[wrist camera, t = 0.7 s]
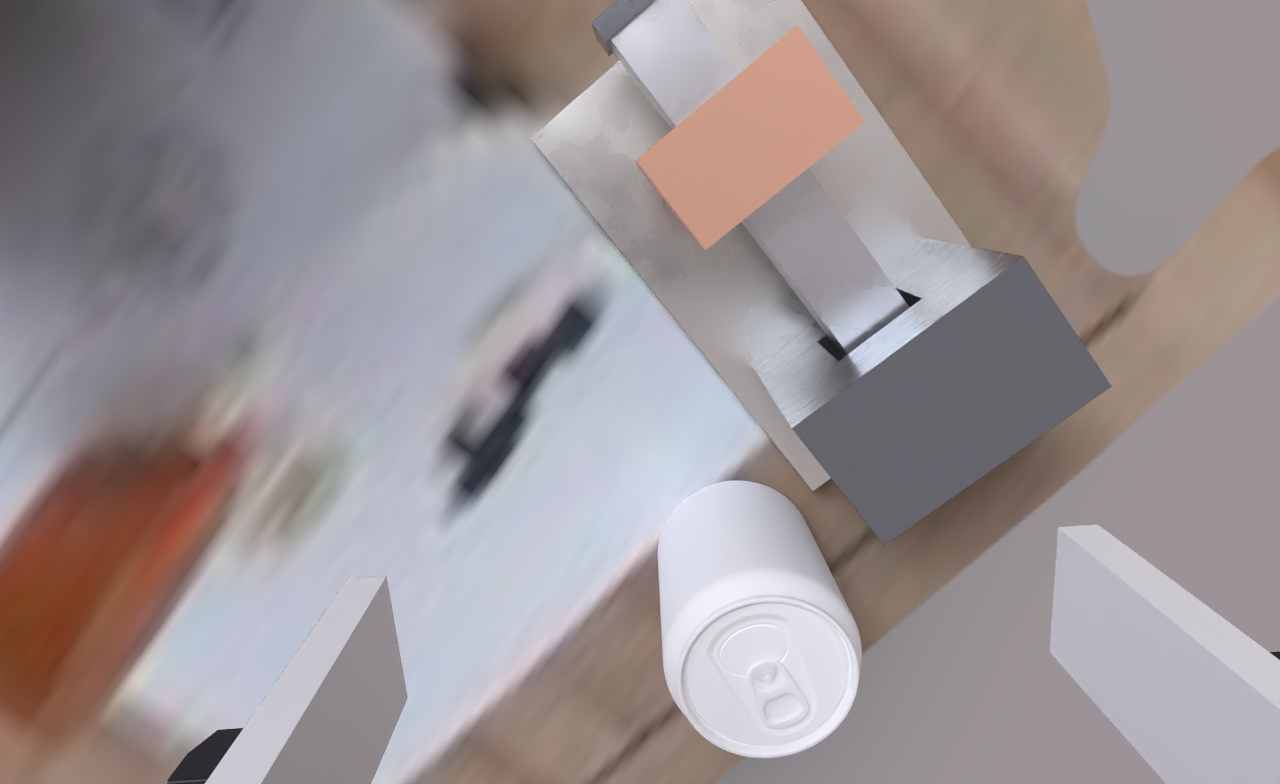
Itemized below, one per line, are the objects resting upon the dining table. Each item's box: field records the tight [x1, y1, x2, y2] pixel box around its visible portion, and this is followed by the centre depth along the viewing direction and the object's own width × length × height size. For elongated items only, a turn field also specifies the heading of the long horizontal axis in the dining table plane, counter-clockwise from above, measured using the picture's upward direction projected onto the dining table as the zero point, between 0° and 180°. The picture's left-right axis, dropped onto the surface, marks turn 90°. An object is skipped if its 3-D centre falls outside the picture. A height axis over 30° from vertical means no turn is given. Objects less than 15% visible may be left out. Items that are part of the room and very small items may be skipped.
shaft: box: [592, 0, 910, 357], centre depth 32 cm, size 17×3×3 cm, turn 39°
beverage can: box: [658, 481, 862, 758], centre depth 37 cm, size 8×8×12 cm
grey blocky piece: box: [530, 0, 1111, 545], centre depth 33 cm, size 22×13×11 cm, turn 39°
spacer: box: [636, 25, 865, 250], centre depth 31 cm, size 4×7×6 cm, turn 129°
